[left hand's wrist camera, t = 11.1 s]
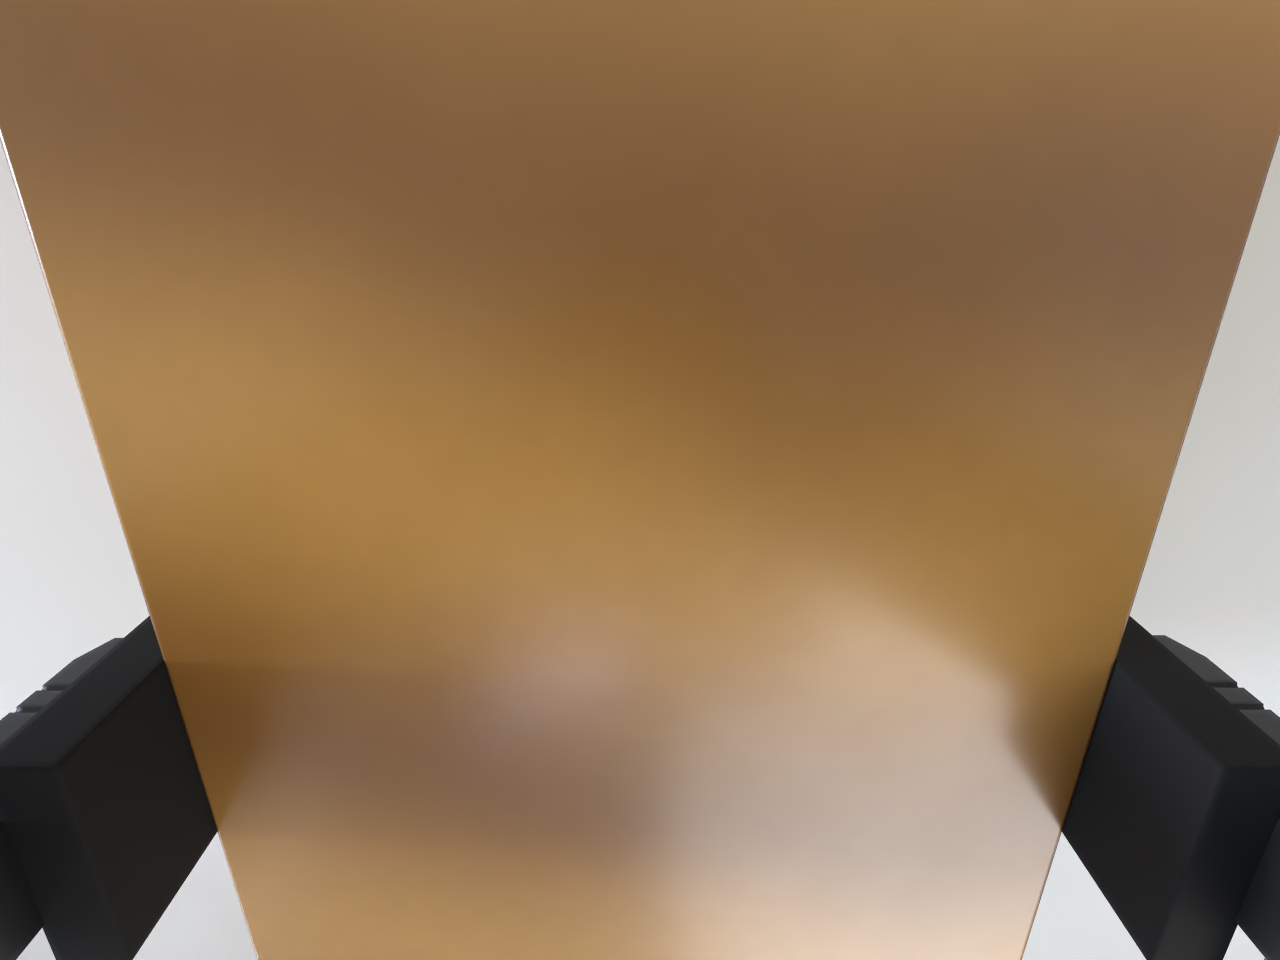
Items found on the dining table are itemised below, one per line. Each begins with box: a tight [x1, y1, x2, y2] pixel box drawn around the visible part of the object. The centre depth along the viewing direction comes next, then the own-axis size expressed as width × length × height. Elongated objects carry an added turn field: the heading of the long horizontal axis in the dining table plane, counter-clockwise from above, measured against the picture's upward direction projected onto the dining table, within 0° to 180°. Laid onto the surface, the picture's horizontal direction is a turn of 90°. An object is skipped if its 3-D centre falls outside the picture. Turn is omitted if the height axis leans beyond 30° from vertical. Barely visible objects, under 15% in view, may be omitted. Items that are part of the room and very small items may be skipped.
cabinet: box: [0, 0, 1280, 960], centre depth 11 cm, size 22×11×10 cm, turn 0°
